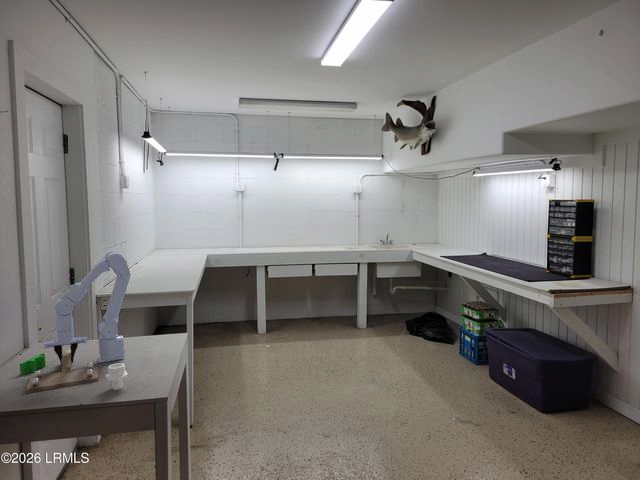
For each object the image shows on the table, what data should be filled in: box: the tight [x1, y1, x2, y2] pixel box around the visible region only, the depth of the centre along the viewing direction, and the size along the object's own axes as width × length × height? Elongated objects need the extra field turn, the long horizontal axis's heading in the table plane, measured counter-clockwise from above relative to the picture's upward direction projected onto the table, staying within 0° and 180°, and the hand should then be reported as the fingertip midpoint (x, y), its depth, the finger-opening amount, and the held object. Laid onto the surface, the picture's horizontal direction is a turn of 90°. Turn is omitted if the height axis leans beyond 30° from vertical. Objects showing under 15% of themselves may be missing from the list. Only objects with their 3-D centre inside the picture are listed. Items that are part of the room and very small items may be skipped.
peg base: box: [25, 361, 100, 394], centre depth 158 cm, size 22×12×4 cm, turn 117°
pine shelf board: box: [61, 349, 73, 372], centre depth 172 cm, size 3×12×5 cm, turn 27°
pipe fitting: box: [105, 362, 129, 391], centre depth 152 cm, size 6×7×8 cm
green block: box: [19, 352, 46, 376], centre depth 169 cm, size 11×4×5 cm, turn 173°
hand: (67, 362), depth 172 cm, fingers closed on pine shelf board, 3 cm apart
